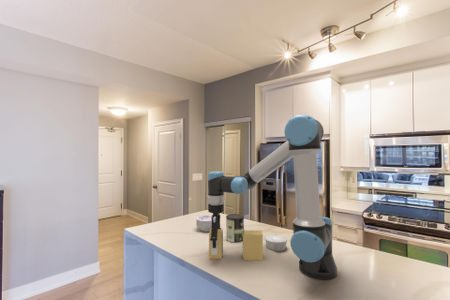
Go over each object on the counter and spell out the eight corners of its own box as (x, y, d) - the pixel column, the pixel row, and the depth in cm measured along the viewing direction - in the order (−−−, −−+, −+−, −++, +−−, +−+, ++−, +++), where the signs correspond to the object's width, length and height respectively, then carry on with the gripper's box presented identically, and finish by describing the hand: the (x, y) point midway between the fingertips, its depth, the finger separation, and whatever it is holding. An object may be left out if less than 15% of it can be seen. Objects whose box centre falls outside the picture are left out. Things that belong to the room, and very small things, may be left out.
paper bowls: (206, 224, 163) (206, 213, 164) (224, 228, 155) (224, 216, 155) (191, 230, 151) (191, 218, 151) (209, 235, 142) (209, 222, 142)
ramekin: (261, 248, 122) (261, 238, 122) (272, 242, 130) (272, 233, 131) (280, 254, 115) (280, 244, 115) (290, 248, 123) (290, 238, 123)
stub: (222, 253, 114) (222, 229, 114) (221, 258, 108) (221, 233, 109) (210, 253, 114) (210, 229, 114) (209, 258, 109) (209, 232, 109)
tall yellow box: (261, 255, 113) (261, 230, 113) (262, 260, 107) (262, 234, 107) (242, 254, 113) (242, 230, 113) (243, 260, 108) (242, 233, 108)
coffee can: (245, 238, 137) (244, 214, 138) (242, 244, 127) (242, 219, 127) (228, 236, 139) (227, 213, 140) (224, 243, 129) (224, 218, 129)
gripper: (211, 198, 124) (211, 239, 124) (204, 209, 100) (204, 259, 100) (225, 198, 123) (225, 239, 123) (221, 209, 99) (221, 260, 99)
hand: (215, 248), depth 111 cm, fingers open, 12 cm apart
